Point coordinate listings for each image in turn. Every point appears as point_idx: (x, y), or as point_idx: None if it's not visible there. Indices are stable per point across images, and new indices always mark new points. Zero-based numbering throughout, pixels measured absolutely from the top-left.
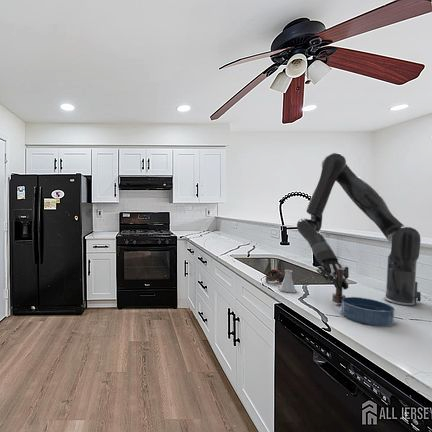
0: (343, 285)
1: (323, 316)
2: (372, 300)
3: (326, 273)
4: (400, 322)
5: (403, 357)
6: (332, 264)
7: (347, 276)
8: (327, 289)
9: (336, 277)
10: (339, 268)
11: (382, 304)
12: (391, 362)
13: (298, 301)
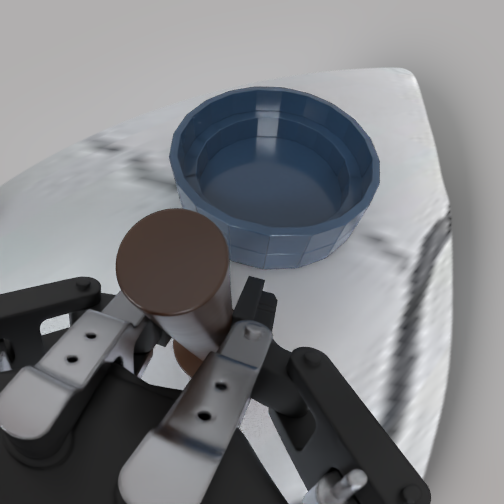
0: None
1: (427, 253)
2: (180, 166)
3: (349, 401)
4: None
5: (388, 84)
6: (53, 497)
7: (85, 279)
8: None
9: (219, 336)
10: (130, 292)
11: (182, 139)
12: (419, 90)
13: (402, 444)
